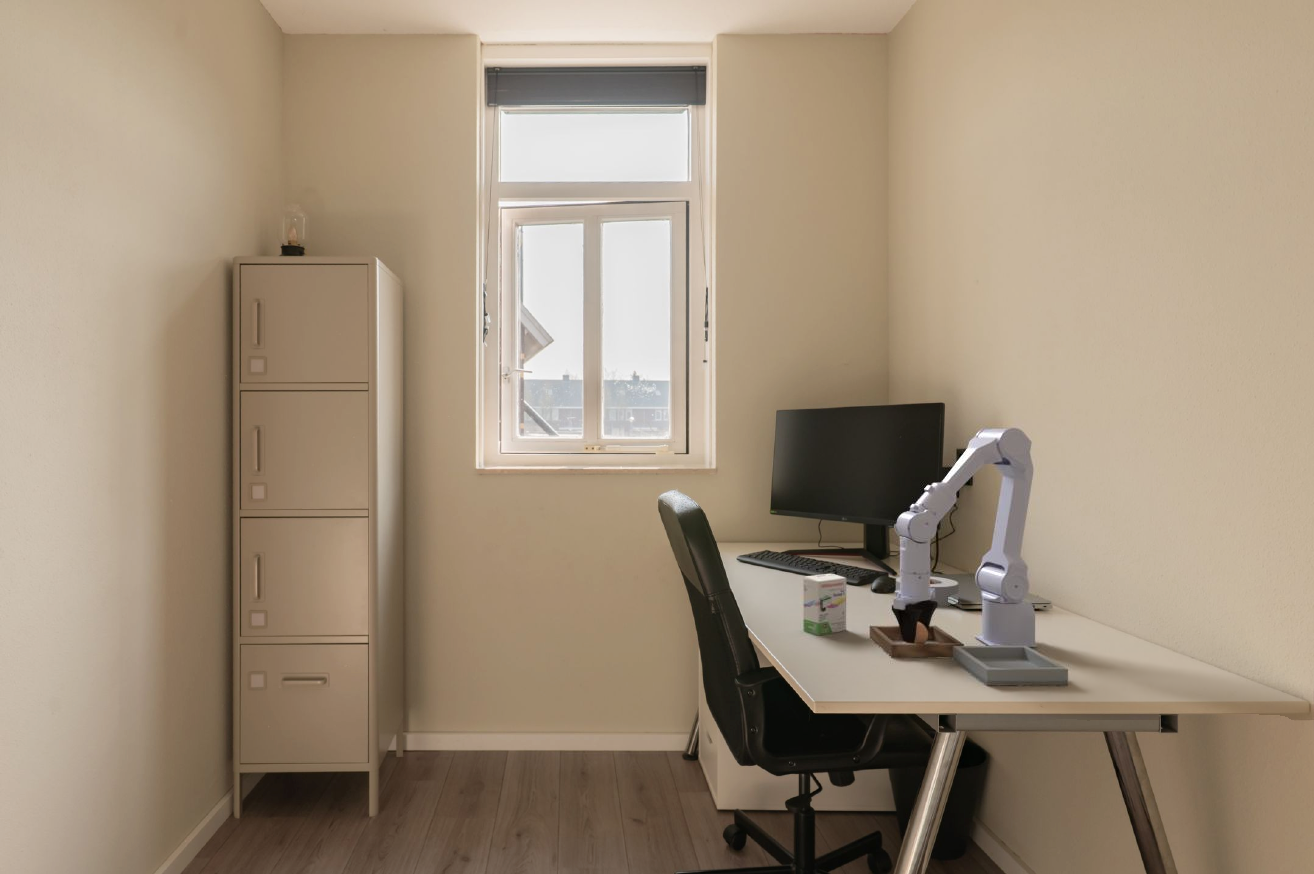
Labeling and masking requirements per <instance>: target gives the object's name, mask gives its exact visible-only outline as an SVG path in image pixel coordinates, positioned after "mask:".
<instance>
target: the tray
mask: <svg viewBox="0 0 1314 874" xmlns="http://www.w3.org/2000/svg"><path fill="white" fill-rule="evenodd" d="M952 662H954V663H955V662H956V663H955V664H957V665H958V666H959V665H960V666H959V667H960V668H961V669H962V670H963V669H964V671H966V672H967V671H968V672H967V673H968V674H970V673H971V674H970V675H971V676H972V677H974V678H975V677H976V679H977V680H978V679H979V680H980V681H979V680H978V681H979V682H981V683H982V682H983V683H984V684H983V683H982V684H983V685H985V686H986V685H1021V686H1022V685H1061V686H1064V687H1065V686H1069V668H1067V667H1065V666H1064V665H1061V664H1060V663H1058V662H1057V661H1054V660H1053V659H1051V658H1049V657H1047V656H1046V655H1043V654H1042V653H1040V652H1038V651H1036V650H1035V649H1033V648H1032V647H1028V646H988V645H964V646H953V658H952ZM1021 686H1020V687H1021Z"/></svg>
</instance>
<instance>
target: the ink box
mask: <svg viewBox="0 0 1314 874" xmlns="http://www.w3.org/2000/svg"><path fill="white" fill-rule="evenodd" d="M802 585H803V588H802V589H803V592H802V593H803V597H802V598H803V599H802V600H803V602H802V603H803V604H802V605H803V612H802V613H803V617H802V618H803V631H804V632H807V633H810V634H813V635H817V636H822V634H823V635H829V634H834V633H837V632H838V631H839V632H844V631H847V577H844V576H842V575H838V574H835V573H825V574H815V575H807V576H805V577H803V583H802ZM839 632H838V633H839Z"/></svg>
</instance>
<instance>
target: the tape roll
mask: <svg viewBox="0 0 1314 874" xmlns="http://www.w3.org/2000/svg"><path fill="white" fill-rule="evenodd" d="M930 588H933V589H935V598H933V599H930V601H936V602H938V606H937V607H949V606H948V605H949V602H948V597H950V596H951V595H955V594H957V593H958V592H959V591H960V590H959V582H958V581H956V580H953V579H951V578H950V579H949V578H944V577H939V576H930ZM897 590H900V577H897V578H896V579H895V591H897ZM896 597H897V595H895V598H896Z"/></svg>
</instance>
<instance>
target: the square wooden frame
mask: <svg viewBox="0 0 1314 874" xmlns="http://www.w3.org/2000/svg"><path fill="white" fill-rule="evenodd" d="M869 639H870V640H871V639H872V640H871V641H873V642H874V643H875V644H876V645H877V646H878V645H879V646H878V647H879V648H880V647H881V648H882V649H883V650H882V651H883V652H885V653H886V654H887V655H888V654H889V655H888V656H889V657H890V656H891V657H953V646H965V644H964V643H962V642H961V641H960V640H958V639H957V638H955V637H953V636H952V635H951V634H949V633H948V632H946V631H944V630H943V629H941V628H940V627H938V626H937V625H929V629H928V638H927V640H934V641H935V640H936V641H935V642H932V643H931V642H927V643H926V642H925V643H906V642H902V643H898V642H897V643H895V642H894V641H893V640H903V639H902V635H901V631H900V627H899V625H869ZM881 648H880V649H881ZM891 657H890V658H891Z"/></svg>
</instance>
